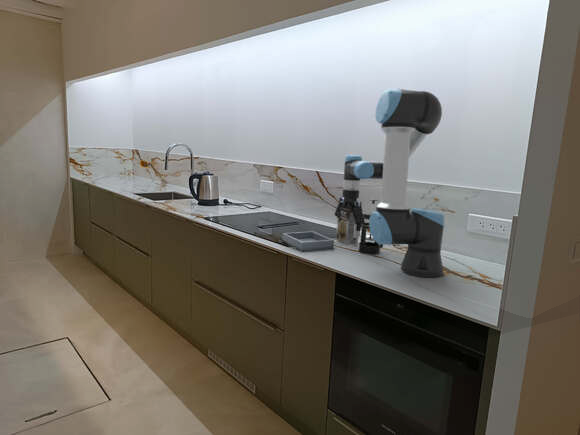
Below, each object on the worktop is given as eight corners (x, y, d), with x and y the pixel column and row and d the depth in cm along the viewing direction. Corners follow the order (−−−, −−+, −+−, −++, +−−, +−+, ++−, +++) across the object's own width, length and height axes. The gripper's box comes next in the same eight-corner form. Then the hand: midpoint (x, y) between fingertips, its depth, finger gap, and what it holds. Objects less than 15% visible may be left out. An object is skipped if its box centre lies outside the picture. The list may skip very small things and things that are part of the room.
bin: (333, 248, 179) (334, 240, 178) (301, 251, 172) (302, 242, 171) (312, 239, 195) (312, 231, 194) (282, 241, 187) (282, 233, 186)
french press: (352, 250, 179) (356, 198, 174) (366, 247, 185) (370, 197, 181) (374, 256, 170) (379, 201, 166) (387, 253, 176) (392, 200, 172)
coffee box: (336, 240, 195) (338, 207, 192) (347, 240, 197) (350, 207, 195) (346, 245, 187) (349, 210, 184) (358, 244, 189) (361, 210, 186)
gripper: (375, 192, 178) (370, 239, 182) (342, 186, 200) (339, 228, 204) (361, 192, 175) (357, 241, 179) (329, 186, 197) (326, 229, 200)
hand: (347, 234), depth 191 cm, fingers open, 13 cm apart
